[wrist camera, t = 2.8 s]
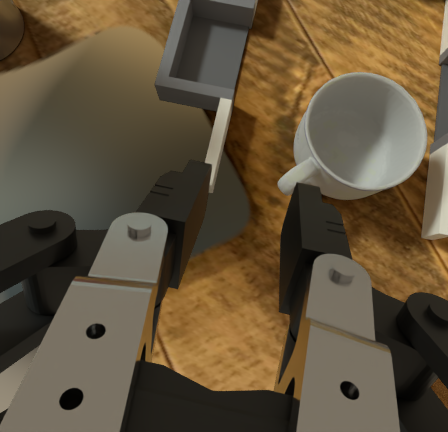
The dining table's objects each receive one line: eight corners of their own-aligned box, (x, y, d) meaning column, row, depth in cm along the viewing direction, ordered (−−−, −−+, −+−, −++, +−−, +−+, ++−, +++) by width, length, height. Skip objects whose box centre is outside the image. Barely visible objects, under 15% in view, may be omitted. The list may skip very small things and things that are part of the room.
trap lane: (501, 254, 35) (536, 250, 31) (137, 177, 37) (127, 164, 33) (515, 0, 41) (546, -30, 37) (203, -57, 43) (201, -91, 39)
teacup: (358, 101, 39) (392, 54, 31) (405, 186, 37) (455, 159, 29) (244, 147, 37) (250, 110, 30) (287, 238, 35) (305, 223, 28)
